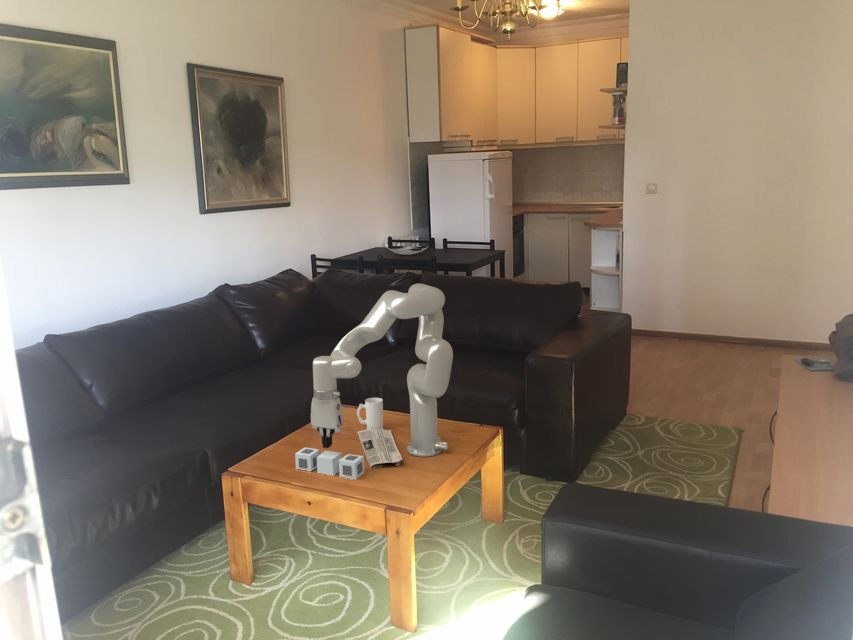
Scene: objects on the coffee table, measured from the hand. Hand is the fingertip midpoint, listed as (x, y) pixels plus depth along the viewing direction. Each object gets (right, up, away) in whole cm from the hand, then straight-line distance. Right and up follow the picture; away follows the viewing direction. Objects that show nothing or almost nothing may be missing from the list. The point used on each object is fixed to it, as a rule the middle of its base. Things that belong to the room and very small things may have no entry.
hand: (327, 446), depth 245 cm
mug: (+11, -1, +40) cm, 42 cm away
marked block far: (-7, -8, +5) cm, 12 cm away
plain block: (+1, -9, +2) cm, 9 cm away
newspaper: (+17, -5, +20) cm, 26 cm away
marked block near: (+8, -9, -1) cm, 13 cm away
